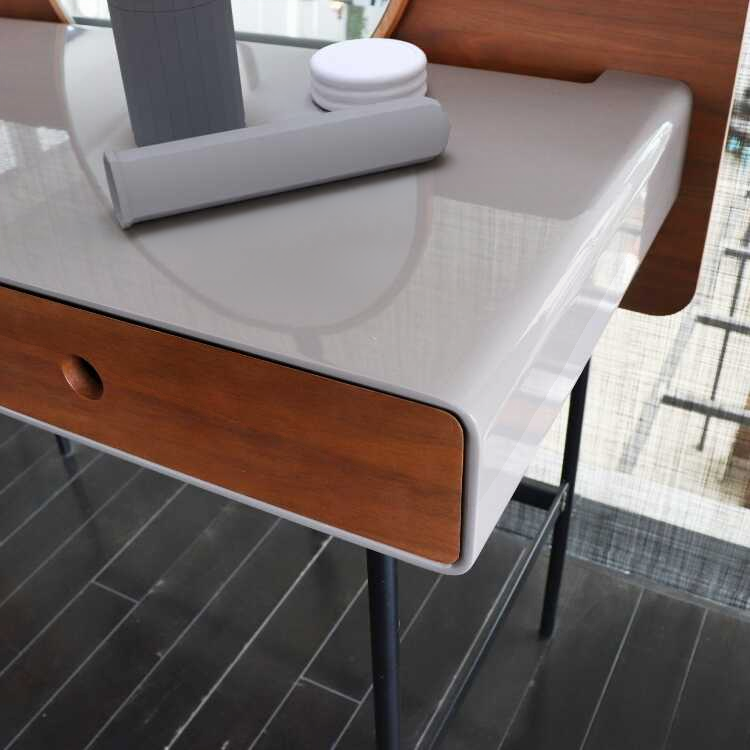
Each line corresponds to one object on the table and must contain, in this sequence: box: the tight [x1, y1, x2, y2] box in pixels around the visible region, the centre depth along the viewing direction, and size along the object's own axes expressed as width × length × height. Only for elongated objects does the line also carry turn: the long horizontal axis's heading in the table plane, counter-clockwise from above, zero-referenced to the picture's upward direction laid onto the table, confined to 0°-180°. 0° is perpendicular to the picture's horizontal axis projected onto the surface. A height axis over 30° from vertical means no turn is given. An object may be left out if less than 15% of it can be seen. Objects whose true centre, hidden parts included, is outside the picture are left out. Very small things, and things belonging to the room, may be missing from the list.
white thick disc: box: [308, 37, 428, 112], centre depth 85 cm, size 10×10×4 cm
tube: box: [102, 95, 452, 230], centre depth 71 cm, size 5×5×25 cm
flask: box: [106, 0, 247, 148], centre depth 77 cm, size 9×9×14 cm
